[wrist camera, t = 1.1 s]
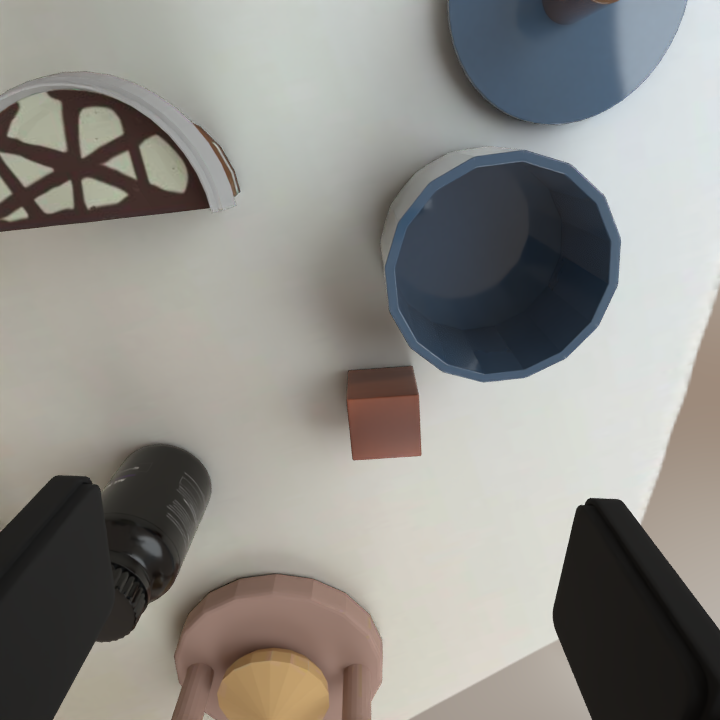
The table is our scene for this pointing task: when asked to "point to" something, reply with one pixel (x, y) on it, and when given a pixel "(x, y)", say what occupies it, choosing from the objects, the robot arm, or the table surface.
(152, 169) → the food container
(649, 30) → the lid
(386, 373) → the block
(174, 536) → the supplement bottle
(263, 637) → the hourglass
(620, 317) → the table surface
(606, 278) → the bowl
